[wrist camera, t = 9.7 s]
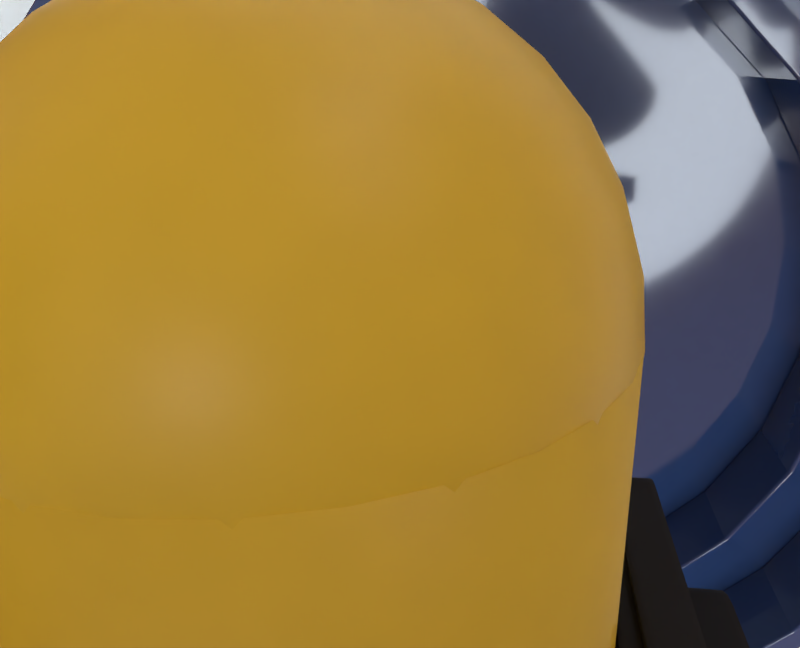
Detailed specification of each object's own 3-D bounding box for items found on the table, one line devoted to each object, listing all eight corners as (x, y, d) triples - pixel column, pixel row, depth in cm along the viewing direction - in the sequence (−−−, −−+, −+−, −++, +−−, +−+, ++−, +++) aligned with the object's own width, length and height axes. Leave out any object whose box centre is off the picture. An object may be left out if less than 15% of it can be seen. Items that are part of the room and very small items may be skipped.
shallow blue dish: (22, -120, 18) (-153, -183, 13) (983, -204, 14) (1204, -332, 10) (156, 572, 26) (75, 684, 21) (800, 631, 22) (874, 783, 17)
